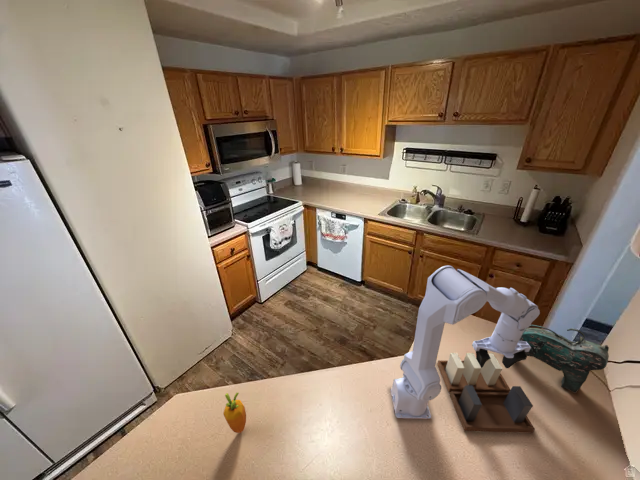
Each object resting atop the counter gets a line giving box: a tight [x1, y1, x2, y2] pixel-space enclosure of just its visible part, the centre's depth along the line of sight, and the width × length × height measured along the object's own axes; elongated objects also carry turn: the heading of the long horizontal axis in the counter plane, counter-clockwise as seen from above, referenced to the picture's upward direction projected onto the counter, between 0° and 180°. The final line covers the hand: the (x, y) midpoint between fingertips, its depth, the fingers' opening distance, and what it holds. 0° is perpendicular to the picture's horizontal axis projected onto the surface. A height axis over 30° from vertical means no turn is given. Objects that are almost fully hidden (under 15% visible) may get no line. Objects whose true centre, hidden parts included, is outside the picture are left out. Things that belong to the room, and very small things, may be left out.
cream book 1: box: [445, 352, 465, 385], centre depth 78 cm, size 2×5×8 cm, turn 178°
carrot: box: [223, 392, 247, 434], centre depth 65 cm, size 5×5×15 cm
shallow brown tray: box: [436, 359, 511, 393], centre depth 79 cm, size 17×9×2 cm, turn 88°
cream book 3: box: [480, 352, 504, 386], centre depth 77 cm, size 2×5×8 cm, turn 178°
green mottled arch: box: [514, 324, 610, 394], centre depth 75 cm, size 20×6×20 cm, turn 49°
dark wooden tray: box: [449, 392, 536, 434], centre depth 70 cm, size 17×9×2 cm, turn 88°
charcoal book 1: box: [458, 385, 482, 422], centre depth 69 cm, size 2×5×8 cm, turn 178°
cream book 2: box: [463, 352, 481, 385], centre depth 77 cm, size 2×5×8 cm, turn 178°
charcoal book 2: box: [503, 385, 534, 423], centre depth 68 cm, size 2×5×8 cm, turn 178°
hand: (491, 365), depth 76 cm, fingers open, 7 cm apart
